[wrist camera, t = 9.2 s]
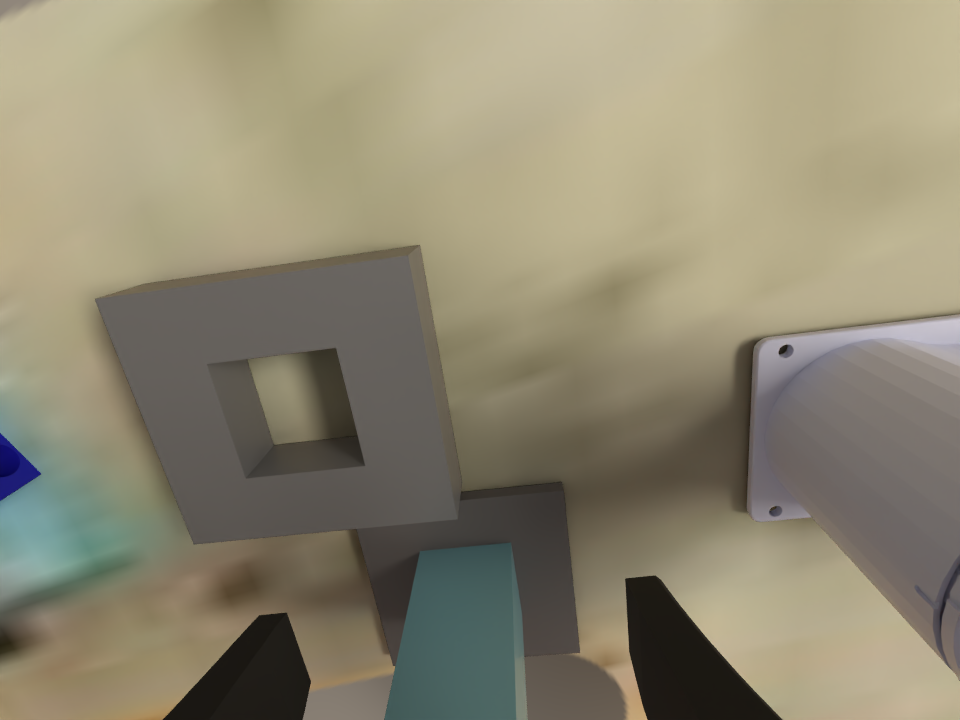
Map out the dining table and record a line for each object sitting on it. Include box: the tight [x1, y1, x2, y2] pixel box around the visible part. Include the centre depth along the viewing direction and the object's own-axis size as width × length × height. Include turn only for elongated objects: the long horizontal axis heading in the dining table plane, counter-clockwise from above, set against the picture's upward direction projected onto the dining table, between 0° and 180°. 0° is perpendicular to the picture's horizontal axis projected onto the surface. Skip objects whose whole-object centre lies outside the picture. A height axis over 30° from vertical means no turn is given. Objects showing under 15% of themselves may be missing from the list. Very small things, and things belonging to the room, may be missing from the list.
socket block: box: [95, 245, 462, 544], centre depth 19 cm, size 11×10×2 cm
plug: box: [384, 543, 527, 720], centre depth 19 cm, size 4×4×8 cm
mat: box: [356, 482, 580, 666], centre depth 23 cm, size 9×9×1 cm
